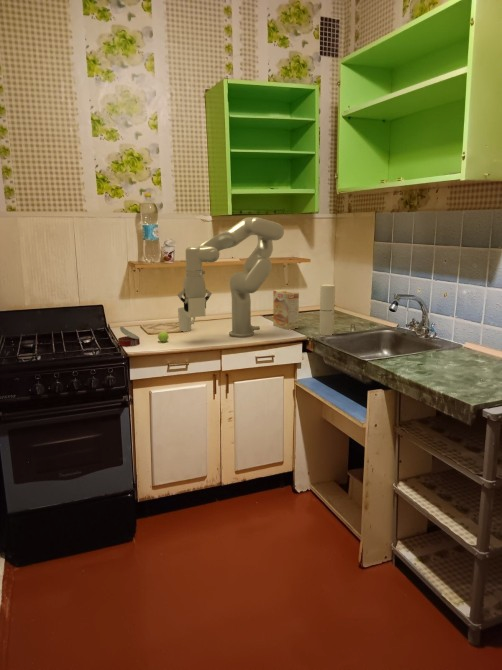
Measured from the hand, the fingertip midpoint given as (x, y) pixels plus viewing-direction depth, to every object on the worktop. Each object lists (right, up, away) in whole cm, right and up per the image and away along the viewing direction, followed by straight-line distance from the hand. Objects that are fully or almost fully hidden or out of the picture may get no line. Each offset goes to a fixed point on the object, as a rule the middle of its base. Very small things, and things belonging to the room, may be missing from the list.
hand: (195, 310), depth 244 cm
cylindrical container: (+65, -11, +17) cm, 68 cm away
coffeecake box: (+46, -7, +35) cm, 58 cm away
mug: (-7, -9, +29) cm, 31 cm away
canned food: (-31, -16, -1) cm, 35 cm away
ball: (-15, -12, +2) cm, 20 cm away
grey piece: (0, -2, +1) cm, 2 cm away
